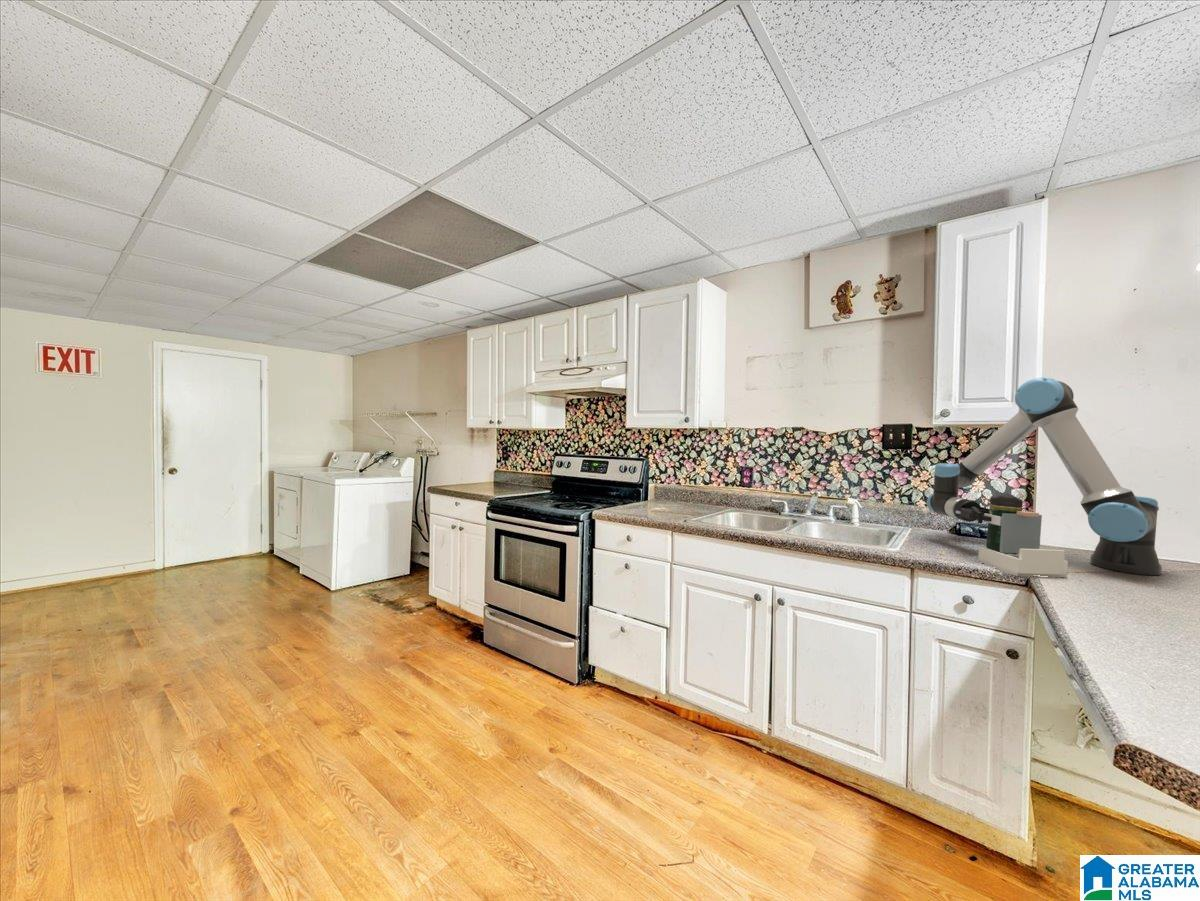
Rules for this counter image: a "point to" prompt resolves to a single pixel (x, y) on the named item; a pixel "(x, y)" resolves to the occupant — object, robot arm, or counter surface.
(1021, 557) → the tray
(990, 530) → the coffee jar
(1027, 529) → the pusher
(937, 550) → the counter surface
